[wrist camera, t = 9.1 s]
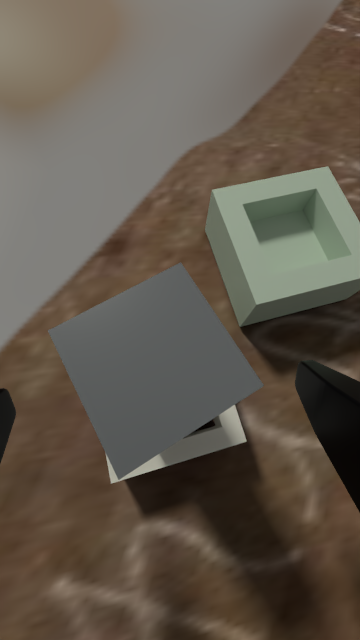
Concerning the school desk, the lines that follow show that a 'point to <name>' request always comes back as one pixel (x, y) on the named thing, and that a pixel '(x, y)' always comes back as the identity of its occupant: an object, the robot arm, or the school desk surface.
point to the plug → (152, 367)
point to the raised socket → (284, 244)
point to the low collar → (194, 444)
